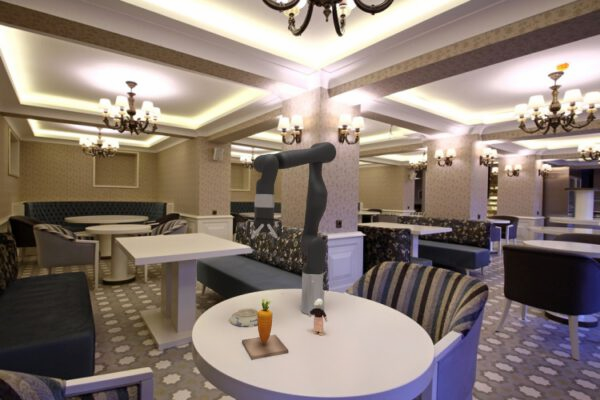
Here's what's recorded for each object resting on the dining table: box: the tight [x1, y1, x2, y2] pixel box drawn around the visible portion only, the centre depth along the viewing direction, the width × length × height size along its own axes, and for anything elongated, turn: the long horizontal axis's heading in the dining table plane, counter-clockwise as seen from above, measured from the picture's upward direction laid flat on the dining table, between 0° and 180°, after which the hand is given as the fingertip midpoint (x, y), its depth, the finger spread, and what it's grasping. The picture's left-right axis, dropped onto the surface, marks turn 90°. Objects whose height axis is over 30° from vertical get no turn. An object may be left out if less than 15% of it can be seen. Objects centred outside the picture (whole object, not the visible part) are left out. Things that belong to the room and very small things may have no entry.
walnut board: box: [241, 334, 289, 361], centre depth 102 cm, size 12×12×1 cm
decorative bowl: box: [228, 308, 259, 328], centre depth 126 cm, size 15×4×15 cm
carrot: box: [257, 298, 273, 345], centre depth 102 cm, size 5×5×15 cm
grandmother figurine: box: [308, 299, 329, 336], centre depth 115 cm, size 8×4×13 cm, turn 71°
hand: (263, 248), depth 120 cm, fingers open, 8 cm apart
